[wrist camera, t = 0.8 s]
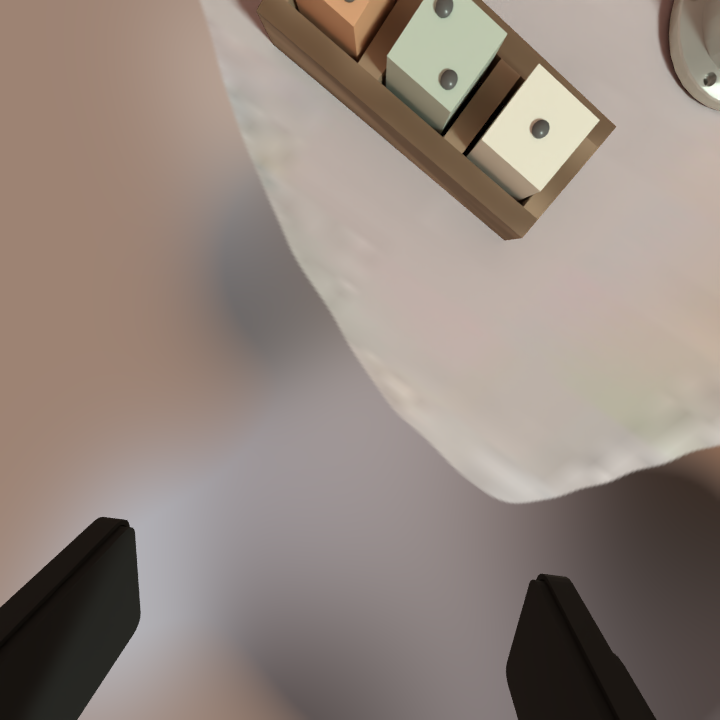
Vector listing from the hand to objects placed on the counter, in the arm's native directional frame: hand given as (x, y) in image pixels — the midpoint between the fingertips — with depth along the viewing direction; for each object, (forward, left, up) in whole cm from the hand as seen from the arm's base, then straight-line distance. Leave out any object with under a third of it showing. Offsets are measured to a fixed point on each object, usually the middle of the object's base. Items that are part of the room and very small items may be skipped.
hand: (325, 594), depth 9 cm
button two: (-19, -8, -24) cm, 32 cm away
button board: (-19, -8, -27) cm, 34 cm away
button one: (-19, -1, -24) cm, 31 cm away
